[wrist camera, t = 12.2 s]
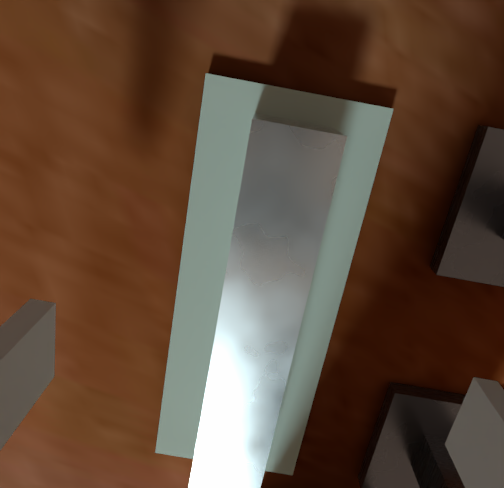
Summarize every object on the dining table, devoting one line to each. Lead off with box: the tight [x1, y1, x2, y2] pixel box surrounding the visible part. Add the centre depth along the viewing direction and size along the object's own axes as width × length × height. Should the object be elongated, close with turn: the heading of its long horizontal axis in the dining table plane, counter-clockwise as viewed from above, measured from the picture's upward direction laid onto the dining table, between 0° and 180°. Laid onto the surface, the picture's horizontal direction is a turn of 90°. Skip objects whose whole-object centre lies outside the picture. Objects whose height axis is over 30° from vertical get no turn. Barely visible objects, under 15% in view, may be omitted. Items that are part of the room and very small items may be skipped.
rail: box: [189, 113, 347, 488], centre depth 18 cm, size 16×3×3 cm, turn 170°
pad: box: [155, 73, 393, 475], centre depth 19 cm, size 18×7×1 cm, turn 170°
